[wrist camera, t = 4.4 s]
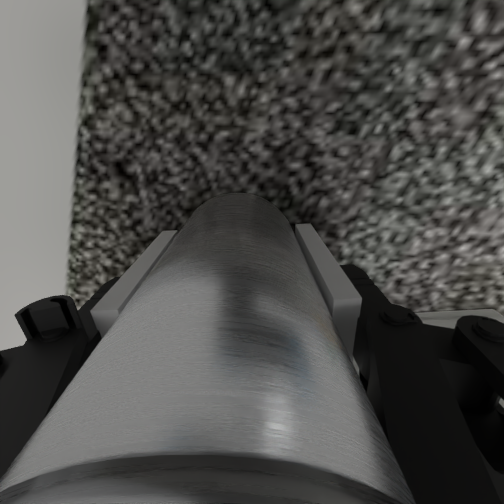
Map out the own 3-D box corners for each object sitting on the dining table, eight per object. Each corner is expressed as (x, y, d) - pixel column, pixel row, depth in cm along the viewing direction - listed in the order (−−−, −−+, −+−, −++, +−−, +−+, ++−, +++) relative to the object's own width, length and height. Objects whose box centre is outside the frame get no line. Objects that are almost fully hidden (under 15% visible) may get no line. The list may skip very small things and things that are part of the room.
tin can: (171, 194, 13) (-324, 575, 2) (296, 188, 13) (610, 543, 2) (190, 299, 15) (37, 723, 4) (294, 294, 15) (413, 714, 4)
